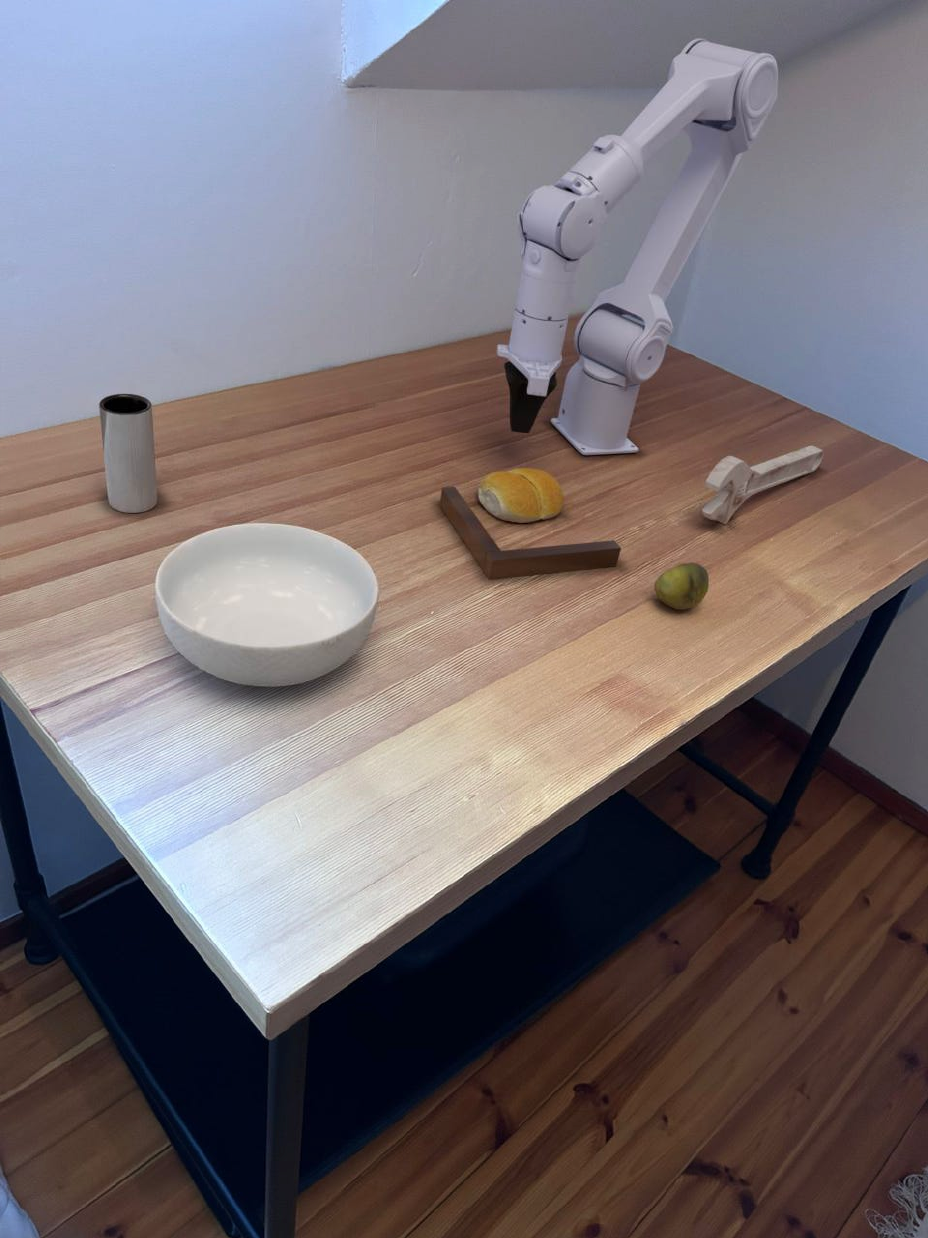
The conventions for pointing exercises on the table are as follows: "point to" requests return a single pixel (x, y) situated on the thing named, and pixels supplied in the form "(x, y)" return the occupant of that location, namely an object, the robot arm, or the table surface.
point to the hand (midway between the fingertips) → (519, 430)
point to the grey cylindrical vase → (129, 452)
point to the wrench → (754, 479)
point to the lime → (682, 585)
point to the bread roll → (521, 495)
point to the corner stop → (521, 559)
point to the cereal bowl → (266, 602)
